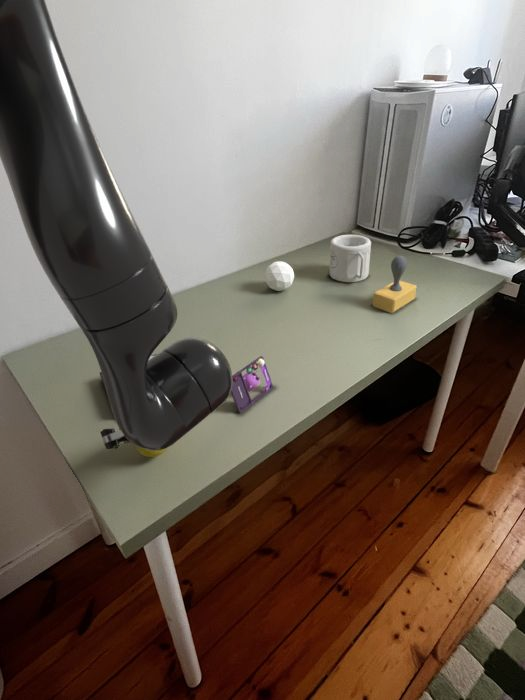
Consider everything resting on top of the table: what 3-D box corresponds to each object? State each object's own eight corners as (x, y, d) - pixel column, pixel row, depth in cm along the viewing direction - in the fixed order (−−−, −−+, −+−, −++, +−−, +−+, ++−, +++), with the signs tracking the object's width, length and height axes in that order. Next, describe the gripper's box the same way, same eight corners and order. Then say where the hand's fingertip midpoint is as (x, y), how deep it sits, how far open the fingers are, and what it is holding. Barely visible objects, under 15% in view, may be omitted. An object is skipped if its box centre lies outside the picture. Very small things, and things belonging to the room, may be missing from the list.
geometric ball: (274, 300, 117) (256, 282, 112) (279, 279, 121) (261, 260, 117) (297, 291, 112) (279, 272, 108) (301, 270, 117) (284, 250, 112)
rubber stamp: (395, 292, 111) (401, 247, 105) (415, 299, 108) (422, 253, 101) (372, 306, 106) (376, 259, 99) (392, 313, 102) (398, 266, 96)
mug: (323, 270, 125) (324, 236, 119) (358, 265, 127) (361, 231, 121) (341, 290, 114) (343, 253, 108) (379, 283, 116) (383, 248, 110)
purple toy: (230, 380, 73) (265, 356, 79) (212, 377, 77) (246, 354, 82) (243, 413, 75) (276, 388, 81) (224, 409, 79) (257, 385, 85)
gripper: (201, 367, 56) (183, 390, 71) (87, 407, 50) (94, 422, 66) (222, 421, 55) (199, 432, 70) (108, 468, 49) (110, 469, 65)
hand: (148, 428), depth 68 cm, fingers open, 6 cm apart
